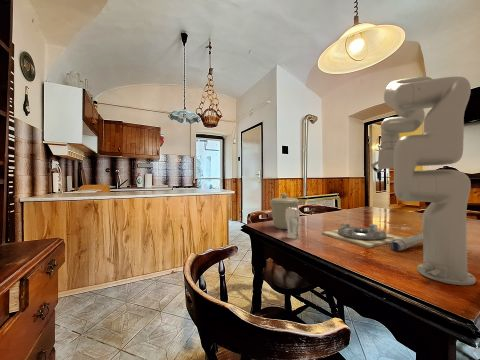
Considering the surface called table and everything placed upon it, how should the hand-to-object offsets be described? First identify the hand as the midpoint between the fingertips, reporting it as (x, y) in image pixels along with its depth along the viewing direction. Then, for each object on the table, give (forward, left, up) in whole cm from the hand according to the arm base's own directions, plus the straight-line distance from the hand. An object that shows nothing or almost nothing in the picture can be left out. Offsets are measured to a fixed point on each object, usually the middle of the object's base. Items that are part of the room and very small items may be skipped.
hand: (390, 180), depth 108 cm
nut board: (-16, +5, -28) cm, 32 cm away
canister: (-37, +40, -28) cm, 61 cm away
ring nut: (-16, +5, -26) cm, 31 cm away
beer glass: (-46, +20, -28) cm, 57 cm away
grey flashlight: (-10, -16, -28) cm, 34 cm away
